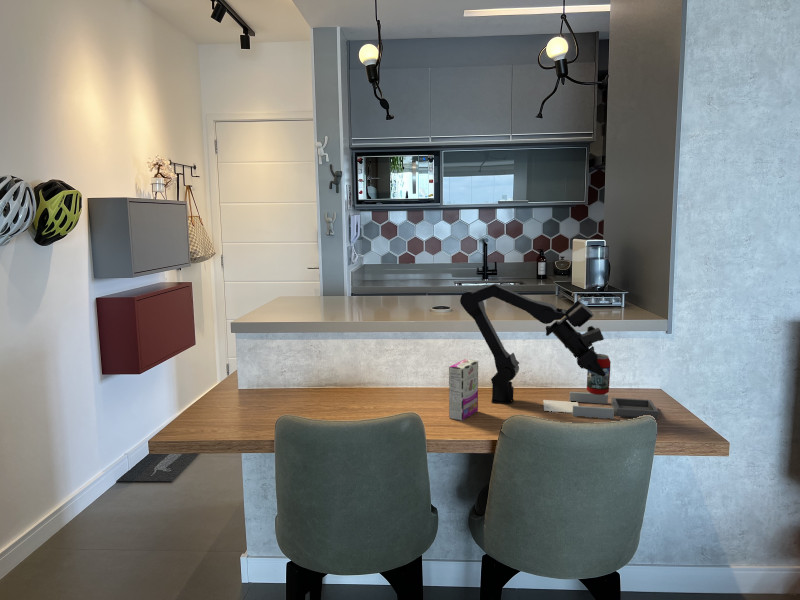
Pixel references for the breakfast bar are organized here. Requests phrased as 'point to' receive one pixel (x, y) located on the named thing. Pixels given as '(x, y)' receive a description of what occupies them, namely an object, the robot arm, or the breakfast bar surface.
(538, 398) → the breakfast bar surface
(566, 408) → the pad
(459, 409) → the candy bar box
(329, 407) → the breakfast bar surface
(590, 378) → the beverage can
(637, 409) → the box
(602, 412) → the channel walls
